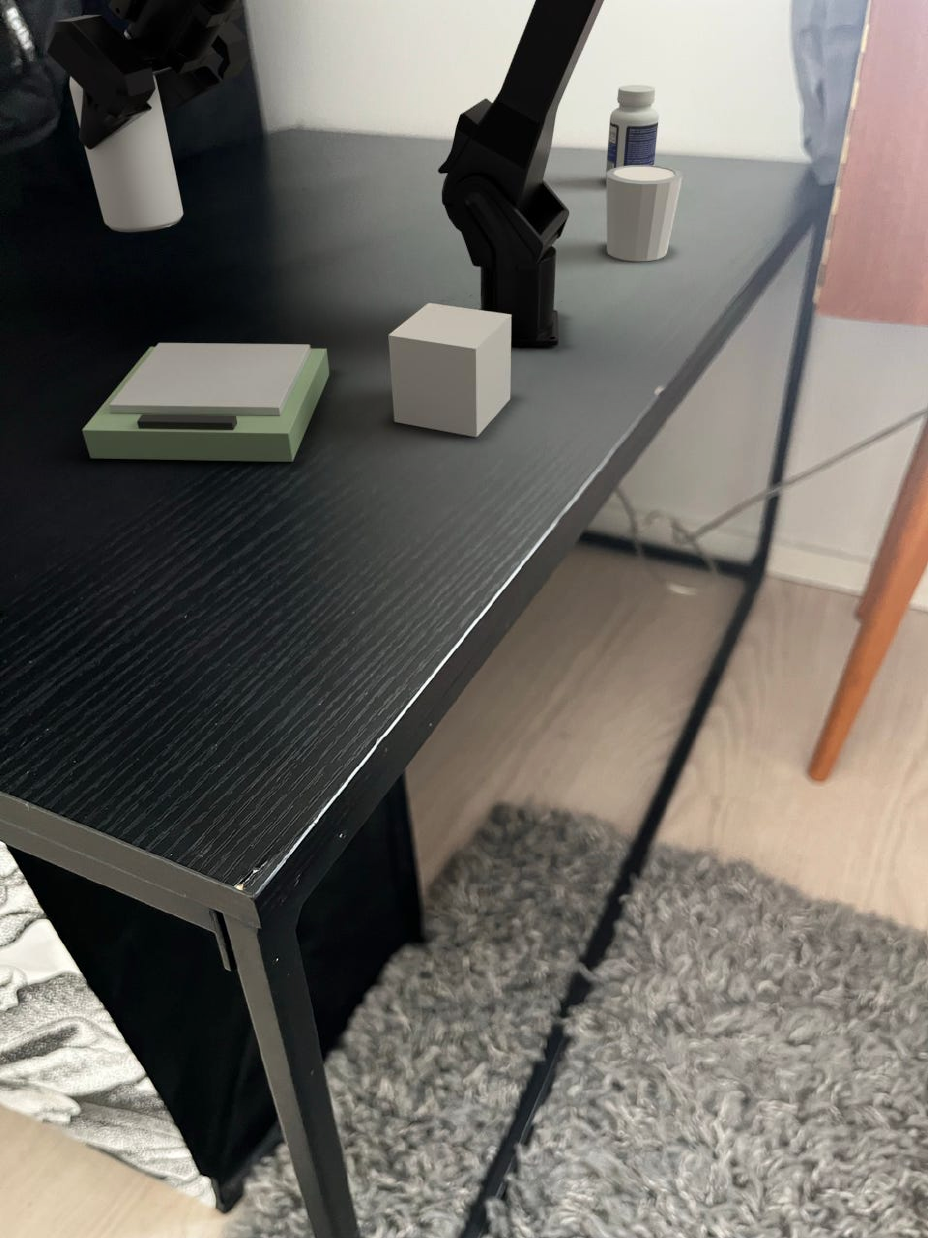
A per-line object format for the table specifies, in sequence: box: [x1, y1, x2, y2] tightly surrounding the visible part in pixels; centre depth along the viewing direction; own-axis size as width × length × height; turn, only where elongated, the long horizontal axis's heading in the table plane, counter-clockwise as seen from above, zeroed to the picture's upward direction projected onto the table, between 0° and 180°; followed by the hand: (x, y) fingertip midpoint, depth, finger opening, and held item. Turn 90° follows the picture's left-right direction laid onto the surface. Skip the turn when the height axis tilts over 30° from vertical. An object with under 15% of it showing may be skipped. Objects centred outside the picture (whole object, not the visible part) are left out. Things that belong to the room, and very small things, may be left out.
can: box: [69, 75, 184, 234], centre depth 75 cm, size 6×6×12 cm
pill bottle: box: [605, 84, 660, 174], centre depth 106 cm, size 5×5×10 cm
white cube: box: [387, 302, 512, 438], centre depth 62 cm, size 6×6×6 cm
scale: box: [81, 342, 330, 463], centre depth 63 cm, size 13×13×3 cm
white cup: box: [605, 165, 684, 262], centre depth 87 cm, size 7×7×7 cm
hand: (110, 134), depth 75 cm, fingers closed on can, 6 cm apart
